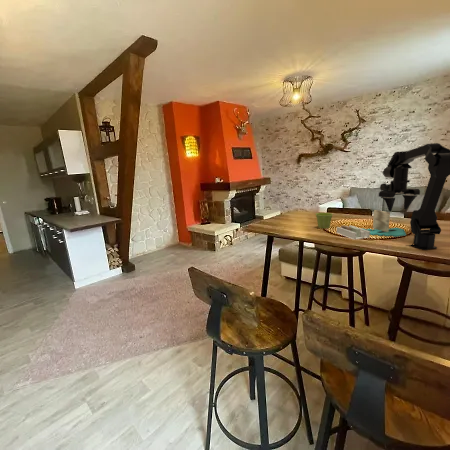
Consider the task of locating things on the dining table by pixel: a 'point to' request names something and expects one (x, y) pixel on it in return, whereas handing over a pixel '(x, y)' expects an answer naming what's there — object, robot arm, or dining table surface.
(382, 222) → the birch sheet
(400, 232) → the alien figure
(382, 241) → the dining table surface
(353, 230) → the sage offcut
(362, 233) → the board rack
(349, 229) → the walnut offcut
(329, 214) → the plant pot
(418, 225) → the robot arm
